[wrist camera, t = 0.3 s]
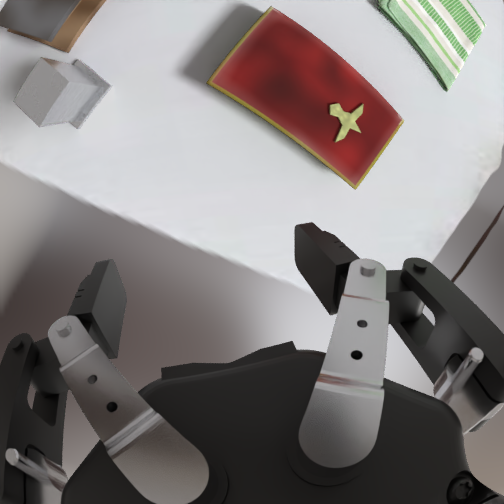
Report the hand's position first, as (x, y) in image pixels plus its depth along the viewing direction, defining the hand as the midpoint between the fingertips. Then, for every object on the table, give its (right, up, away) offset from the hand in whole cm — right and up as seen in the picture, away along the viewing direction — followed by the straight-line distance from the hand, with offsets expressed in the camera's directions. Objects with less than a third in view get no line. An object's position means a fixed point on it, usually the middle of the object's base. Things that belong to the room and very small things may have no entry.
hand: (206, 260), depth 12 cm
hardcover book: (+9, +19, +17) cm, 27 cm away
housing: (-19, +19, +12) cm, 29 cm away
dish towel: (+32, +39, +11) cm, 51 cm away
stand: (-22, +33, +4) cm, 40 cm away
